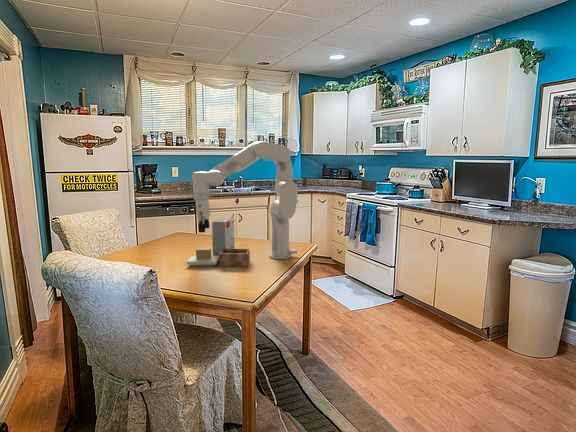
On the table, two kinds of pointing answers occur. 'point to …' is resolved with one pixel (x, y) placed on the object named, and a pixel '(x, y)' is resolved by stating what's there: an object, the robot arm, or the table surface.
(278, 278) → the table surface
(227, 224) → the hard drive box
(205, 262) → the lid
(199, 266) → the mat
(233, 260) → the crate
